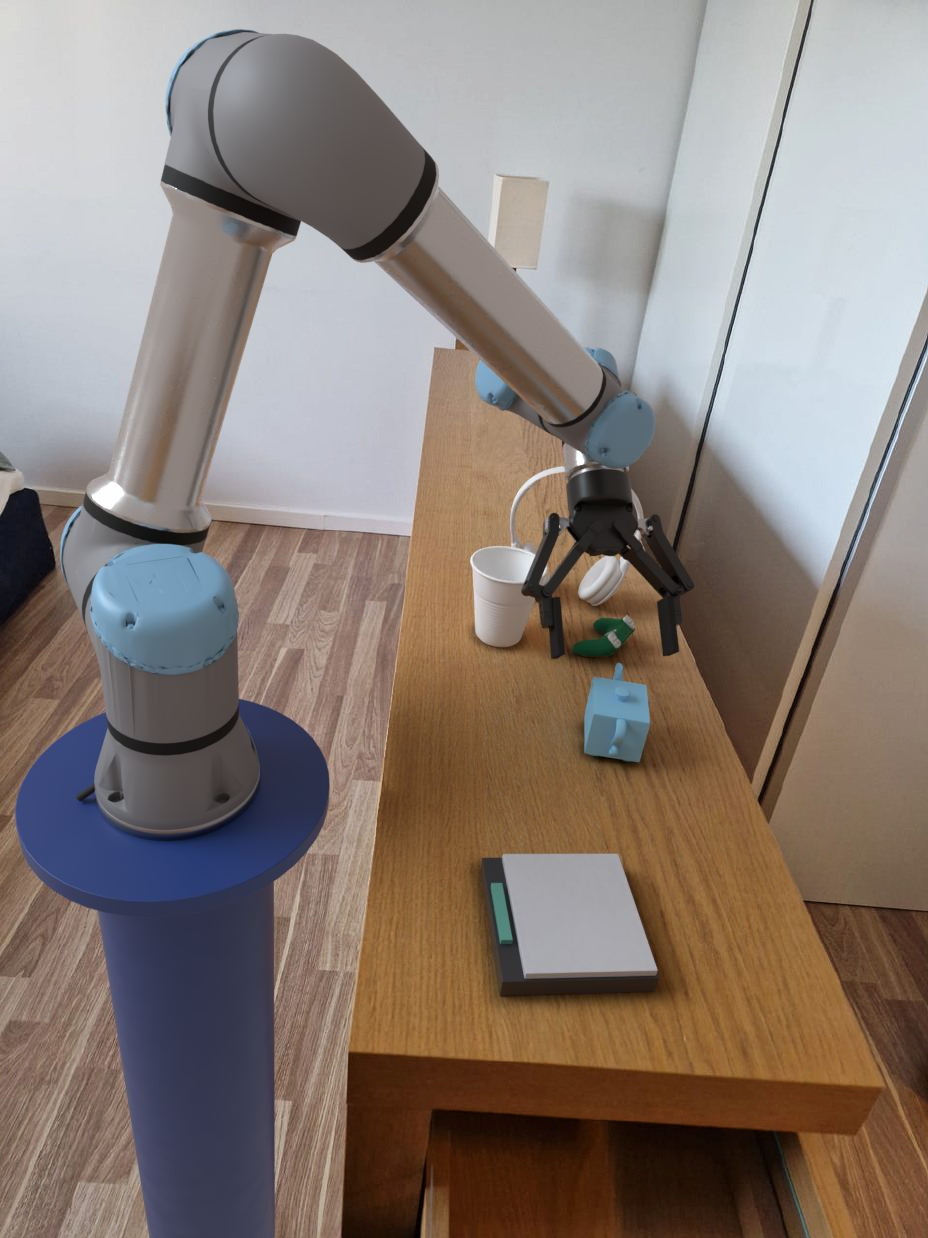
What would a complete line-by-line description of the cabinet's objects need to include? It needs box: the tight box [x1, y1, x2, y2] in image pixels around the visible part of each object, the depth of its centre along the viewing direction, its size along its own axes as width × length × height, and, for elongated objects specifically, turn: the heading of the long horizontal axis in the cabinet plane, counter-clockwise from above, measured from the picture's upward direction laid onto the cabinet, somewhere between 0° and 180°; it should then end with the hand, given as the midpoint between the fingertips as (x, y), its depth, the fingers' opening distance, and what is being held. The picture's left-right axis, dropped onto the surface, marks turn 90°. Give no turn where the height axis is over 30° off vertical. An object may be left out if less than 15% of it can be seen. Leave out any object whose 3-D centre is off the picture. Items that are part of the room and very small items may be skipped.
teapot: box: [583, 662, 651, 763], centre depth 98 cm, size 12×6×8 cm, turn 173°
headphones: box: [509, 465, 645, 607], centre depth 122 cm, size 7×18×20 cm, turn 84°
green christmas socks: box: [571, 614, 636, 658], centre depth 116 cm, size 9×4×6 cm
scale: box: [479, 853, 660, 997], centre depth 76 cm, size 13×13×2 cm
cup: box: [470, 545, 549, 648], centre depth 113 cm, size 10×10×11 cm
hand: (615, 655), depth 98 cm, fingers open, 13 cm apart
